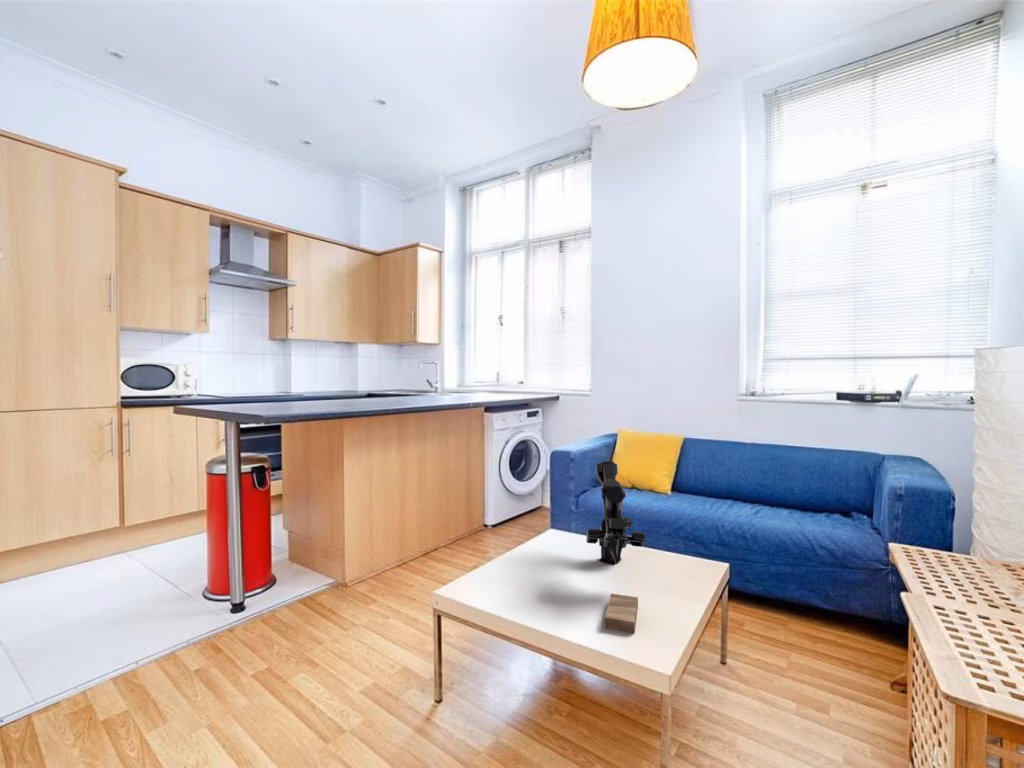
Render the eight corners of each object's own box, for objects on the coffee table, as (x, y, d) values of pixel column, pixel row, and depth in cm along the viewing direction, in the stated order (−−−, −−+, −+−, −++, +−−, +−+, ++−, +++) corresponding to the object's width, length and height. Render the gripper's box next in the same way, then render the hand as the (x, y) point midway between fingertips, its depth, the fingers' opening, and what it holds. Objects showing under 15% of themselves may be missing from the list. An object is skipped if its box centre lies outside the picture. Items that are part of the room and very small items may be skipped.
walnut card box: (611, 593, 137) (604, 617, 123) (637, 597, 135) (634, 622, 121) (611, 604, 137) (604, 630, 123) (638, 608, 135) (634, 635, 120)
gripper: (588, 505, 148) (590, 551, 137) (645, 508, 146) (651, 555, 136) (585, 520, 156) (587, 564, 145) (639, 523, 155) (644, 568, 144)
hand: (617, 563), depth 142 cm, fingers closed
